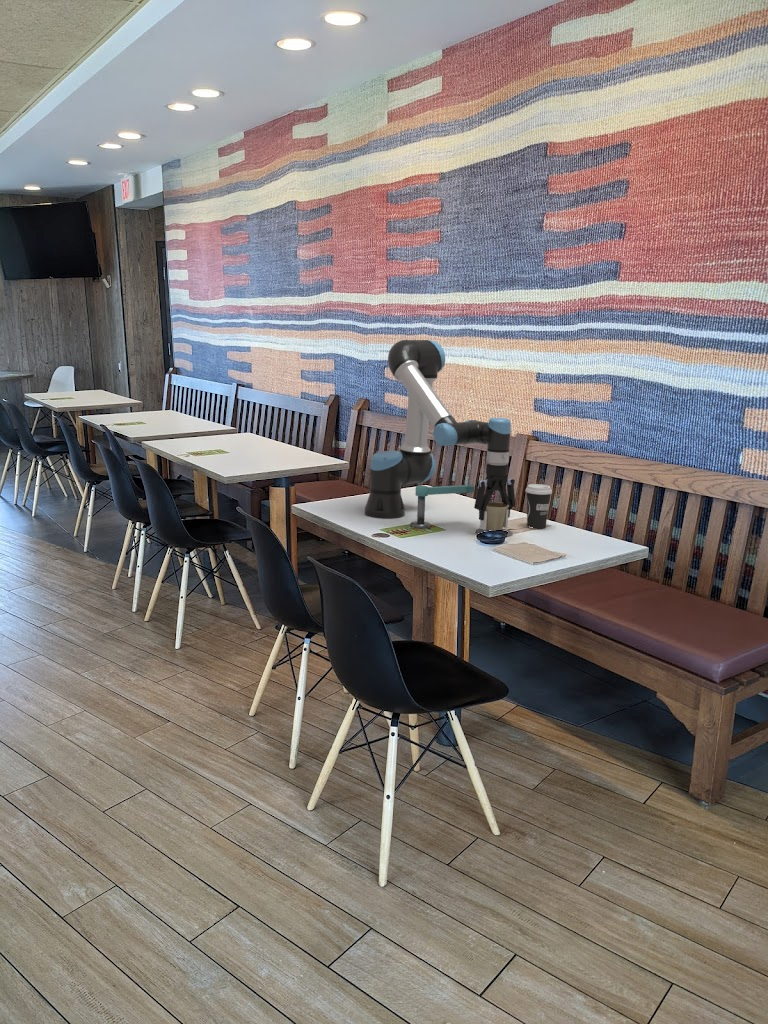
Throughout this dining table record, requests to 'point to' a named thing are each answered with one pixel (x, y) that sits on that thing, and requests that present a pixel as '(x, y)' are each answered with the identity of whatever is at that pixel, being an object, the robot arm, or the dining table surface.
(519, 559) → the dining table surface
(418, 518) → the grey pedestal stand
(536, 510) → the coffee cup
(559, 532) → the dining table surface
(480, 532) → the pad
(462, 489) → the teal paddle stick
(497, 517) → the flower pot
